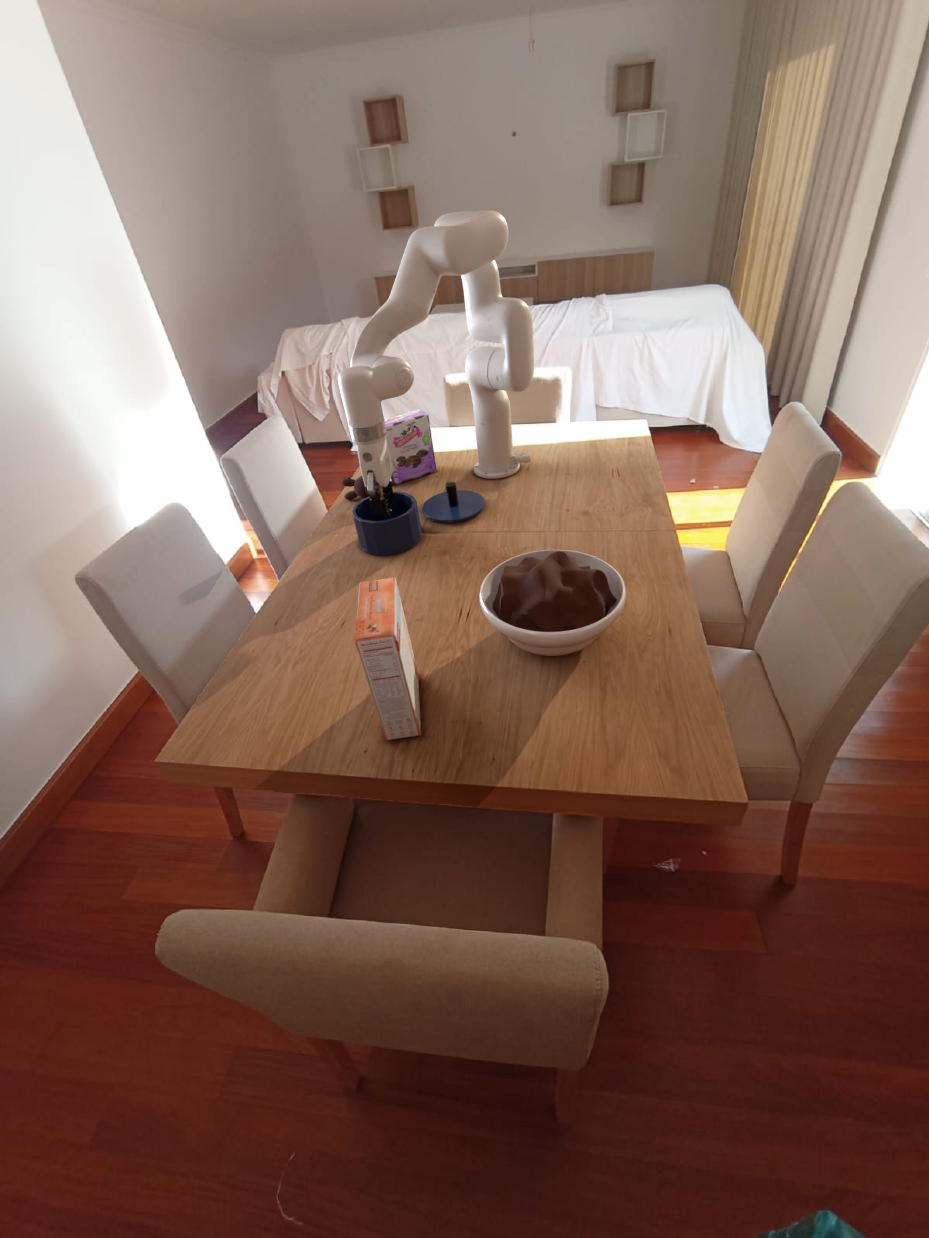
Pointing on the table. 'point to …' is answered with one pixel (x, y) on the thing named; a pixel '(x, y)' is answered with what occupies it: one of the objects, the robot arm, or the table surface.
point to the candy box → (410, 446)
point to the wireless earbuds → (388, 501)
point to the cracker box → (388, 658)
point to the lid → (453, 505)
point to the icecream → (357, 488)
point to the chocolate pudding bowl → (552, 600)
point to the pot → (388, 526)
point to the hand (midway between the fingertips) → (384, 506)
